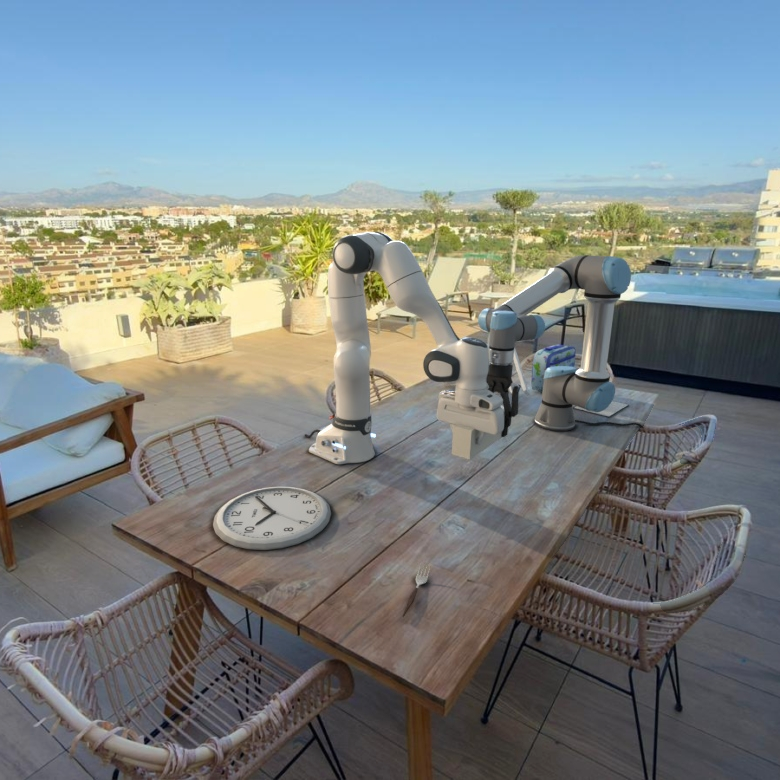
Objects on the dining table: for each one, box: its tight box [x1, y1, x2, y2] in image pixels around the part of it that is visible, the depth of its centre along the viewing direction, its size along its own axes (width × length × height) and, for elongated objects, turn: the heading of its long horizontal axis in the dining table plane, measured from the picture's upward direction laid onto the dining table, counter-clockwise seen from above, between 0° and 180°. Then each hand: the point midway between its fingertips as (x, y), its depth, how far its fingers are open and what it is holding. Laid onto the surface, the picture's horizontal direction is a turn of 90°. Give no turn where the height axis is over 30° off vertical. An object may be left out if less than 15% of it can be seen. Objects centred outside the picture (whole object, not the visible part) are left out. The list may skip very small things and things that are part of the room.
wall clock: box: [212, 486, 332, 551], centre depth 136 cm, size 30×2×30 cm
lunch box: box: [530, 344, 577, 392], centre depth 247 cm, size 26×11×21 cm, turn 134°
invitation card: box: [573, 400, 629, 418], centre depth 226 cm, size 21×1×15 cm
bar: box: [451, 404, 510, 461], centre depth 158 cm, size 26×6×9 cm, turn 143°
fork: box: [402, 562, 432, 618], centre depth 108 cm, size 3×16×2 cm, turn 160°
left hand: (467, 441), depth 151 cm, fingers closed on bar, 6 cm apart
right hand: (494, 432), depth 166 cm, fingers closed on bar, 6 cm apart
